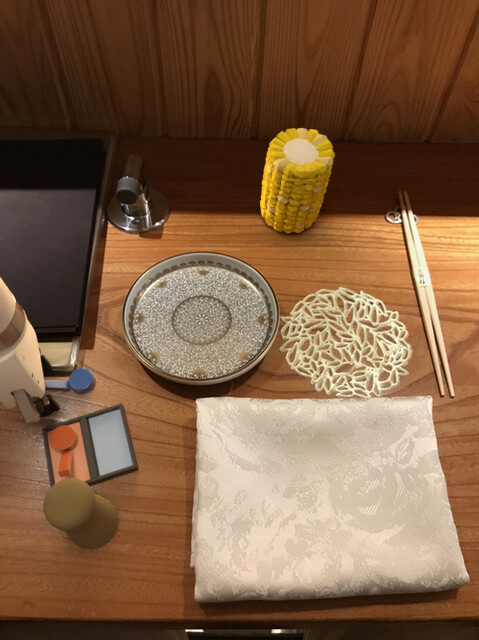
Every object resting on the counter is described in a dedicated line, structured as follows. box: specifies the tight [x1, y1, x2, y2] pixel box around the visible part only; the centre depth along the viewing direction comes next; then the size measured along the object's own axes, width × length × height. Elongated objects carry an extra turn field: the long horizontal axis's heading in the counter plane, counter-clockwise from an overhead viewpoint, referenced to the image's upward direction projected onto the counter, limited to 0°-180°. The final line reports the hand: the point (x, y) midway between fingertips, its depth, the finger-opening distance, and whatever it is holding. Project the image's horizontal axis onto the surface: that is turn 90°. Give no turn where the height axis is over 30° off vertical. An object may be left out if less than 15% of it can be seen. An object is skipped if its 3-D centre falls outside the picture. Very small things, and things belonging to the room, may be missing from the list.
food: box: [259, 127, 336, 235], centre depth 83 cm, size 15×12×10 cm
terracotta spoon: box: [50, 425, 78, 477], centre depth 68 cm, size 7×3×4 cm, turn 18°
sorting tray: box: [41, 402, 139, 488], centre depth 70 cm, size 10×9×1 cm
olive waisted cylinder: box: [42, 478, 120, 550], centre depth 61 cm, size 6×6×11 cm
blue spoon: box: [44, 367, 96, 395], centre depth 74 cm, size 7×3×4 cm, turn 108°
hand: (44, 391), depth 74 cm, fingers open, 5 cm apart
